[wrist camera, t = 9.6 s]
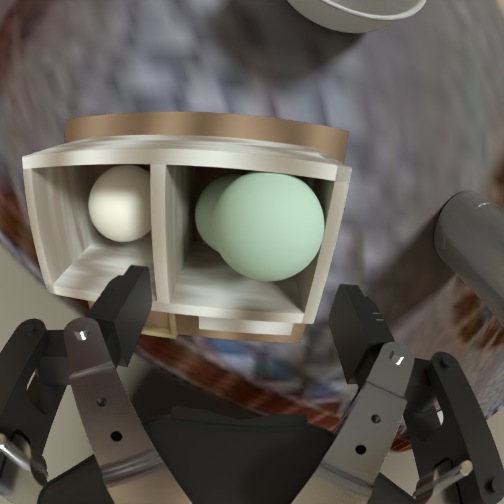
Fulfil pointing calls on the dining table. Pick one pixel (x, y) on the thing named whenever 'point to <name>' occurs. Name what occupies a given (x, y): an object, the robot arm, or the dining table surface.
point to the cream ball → (121, 203)
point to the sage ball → (268, 225)
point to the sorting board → (183, 217)
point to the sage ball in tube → (211, 207)
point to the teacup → (356, 13)
